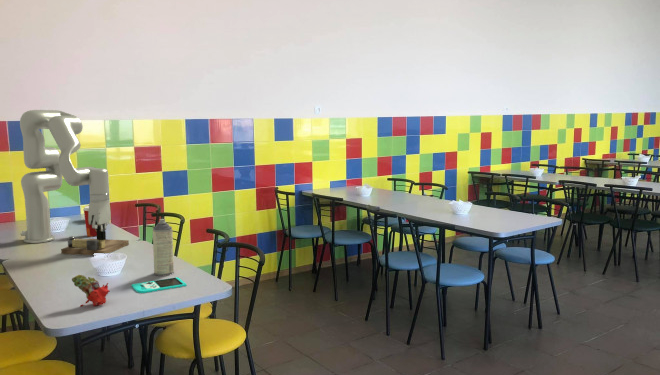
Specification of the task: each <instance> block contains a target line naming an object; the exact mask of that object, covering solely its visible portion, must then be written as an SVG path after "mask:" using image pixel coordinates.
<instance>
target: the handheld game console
mask: <svg viewBox="0 0 660 375" xmlns="http://www.w3.org/2000/svg"><path fill="white" fill-rule="evenodd" d="M182 286H184V287H187V286H188V285H187V283H186V282H185V281H183V280H182V279H181V278H179V276H178V277H170V278H165V279H157V280H152V281H151V280H150V281H144V282H138V283H132V284H131V287H132V289H133V290H134V291H135V292H136V293H139V294H146V293H147V292H148V293H153V292H152V291H154V292H158V291H157V290H160V291H165V290H164V289H166V290H170V288H172V289H177V288H176V287H178V288H183V287H182Z"/></svg>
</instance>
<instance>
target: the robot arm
mask: <svg viewBox="0 0 660 375" xmlns="http://www.w3.org/2000/svg"><path fill="white" fill-rule="evenodd" d="M19 127H20V132H21V135H22V146H23V147H22V148H23V162H24V165H25V167H26V168H28V169H31V170H38V171H32V172H30V171H29V172H27V173H25V174H24V175H23V176H22V177H21V180H20V185H21V189H22V192H23V196H24V205H25V220H26V222H25V223H26V230H22V231H21V232H20V234H19V235H20V236H23V237H24V238H23V243H27V244H41V243H47V242H52V241H54V240H55V239H56V238H55V235H52V234H51V232H52V230H51V220H50V219H51V218H50V203H49V199H48V197H47V196H46V195H45V192H53V191H58V190H59V189H61V187H62V185H63V179H64V181H65V182H66V184H68V185H70V186H71V187H79V186H87V185H89V187H88V188H89V203H88V205H89V212H88V222H89V225H92V228H94V229H96V231H97V236H96V239H97V240H106V239H107V238H106V237H107V234H106V233H107V232H106V231H107V226H108V225H109V224H110V221H111V219H112V217H111V216H112V215H111V204H110V190H109V184H110V183H109V172H108V169H107V168H98V167H93V166H84V167H83V166H81V167H75V166H74V165H73V163H72V161H71V155H73V154H74V153H76V152H78V151H79V150H80V148H81V145H82V144H81V142H80V141H79V138H78V137H77V135H80V133H81V132H83V122H82V121H81V119H80V118H79V117H78V116H76V115H74V114H71V113H67V112H65V111H62V110H57V109H54V110H53V109H31V110H27V111H25V112H23V113H22V115H21V116H20V119H19ZM41 130H49V132H50V134H51V136H52V138H53V140H54V141H55V143H56V144H57V147H58V149H59V150H58V149H57V148H56V147H52V146H47V147H46V146H45V144H46V143H45V142H46V141H45V137H44V135H43V133H42V131H41ZM39 169H45V170H43V171H41V170H39Z"/></svg>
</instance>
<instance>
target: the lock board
mask: <svg viewBox="0 0 660 375" xmlns="http://www.w3.org/2000/svg"><path fill="white" fill-rule="evenodd" d="M93 239H94V240H87V248H84V247H68V246H66V247H64V248H61V249H60V250H61V251H60V252H61V255H74V256H75V255H77V256H78V255H79V256H94V255H93V254H94V253H109V254H111V253H114V252H116V251H117V250H120V249H123V248H124V247H127V246H129V245H130V242H129V241H130V240H129V239H128V240H127V239H107V238H106V240H105V247H104V248H99V245H98V240H97V238H93ZM115 250H116V251H115ZM113 251H114V252H113ZM110 252H111V253H110Z"/></svg>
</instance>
